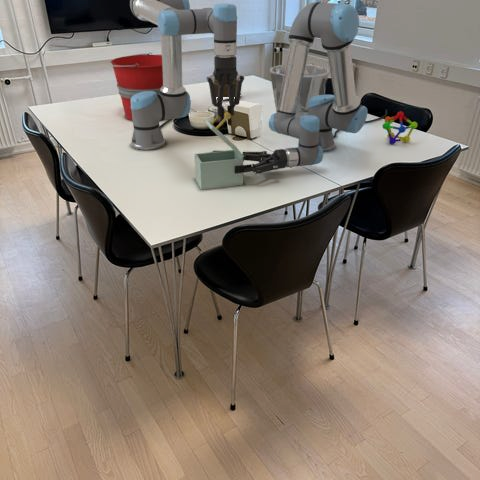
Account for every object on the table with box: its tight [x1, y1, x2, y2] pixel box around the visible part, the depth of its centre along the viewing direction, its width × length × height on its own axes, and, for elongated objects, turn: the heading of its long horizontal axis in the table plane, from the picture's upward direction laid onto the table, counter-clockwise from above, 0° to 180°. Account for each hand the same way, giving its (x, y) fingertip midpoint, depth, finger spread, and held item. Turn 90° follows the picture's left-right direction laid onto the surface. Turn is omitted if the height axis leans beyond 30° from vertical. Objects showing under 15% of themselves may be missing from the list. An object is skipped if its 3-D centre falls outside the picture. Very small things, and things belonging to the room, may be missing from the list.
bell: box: [213, 77, 242, 97], centre depth 278 cm, size 19×26×20 cm
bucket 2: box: [269, 64, 330, 119], centre depth 226 cm, size 30×30×28 cm
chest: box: [194, 149, 244, 191], centre depth 169 cm, size 16×10×11 cm, turn 107°
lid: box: [204, 107, 244, 158], centre depth 163 cm, size 17×10×8 cm
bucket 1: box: [107, 51, 163, 122], centre depth 239 cm, size 35×35×30 cm
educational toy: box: [382, 110, 418, 145], centre depth 207 cm, size 16×13×15 cm
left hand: (225, 124), depth 161 cm, fingers closed on lid, 2 cm apart
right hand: (230, 164), depth 170 cm, fingers closed on chest, 10 cm apart
